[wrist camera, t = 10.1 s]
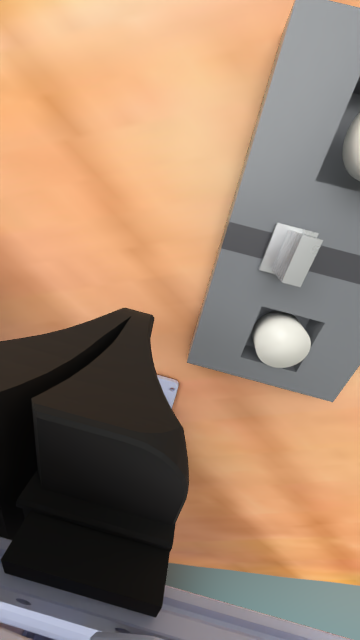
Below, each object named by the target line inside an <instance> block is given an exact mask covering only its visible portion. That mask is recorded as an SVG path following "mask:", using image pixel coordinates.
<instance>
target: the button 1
mask: <svg viewBox="0 0 360 640" xmlns="http://www.w3.org/2000/svg"><path fill="white" fill-rule="evenodd" d="M252 338H253V342H254V345H255V349H256V353H257V355H258V357H259V359H260V360H261V361H262V362H263V363H265V364H266V365H269V366H271V367H275V368H286V367H290V366H293V365H296V364H298V363H299V362H301V361H302V360H303V359H304V358H305V357H306V356H307V354H308V353H309V350H310V347H311V341H310V337H309V335H308V334H307V332H306V331H305V329H304V328H303V326H302V325H301V323H300V322H299V321H298V319H297V318H296V317H295V316H293V315H292V314H289V313H286V312H280V311H279V312H271V313H268V314H266V315H264V316H262V317H261V318H260V319H259V320H258V321H257V322H256V323H255V325H254V327H253V330H252Z"/></svg>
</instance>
